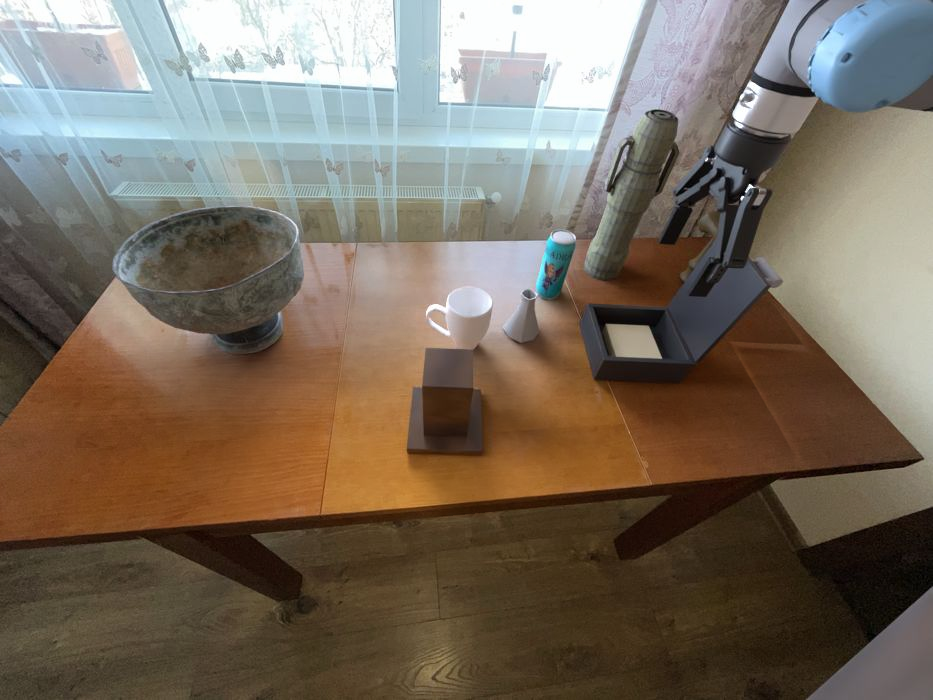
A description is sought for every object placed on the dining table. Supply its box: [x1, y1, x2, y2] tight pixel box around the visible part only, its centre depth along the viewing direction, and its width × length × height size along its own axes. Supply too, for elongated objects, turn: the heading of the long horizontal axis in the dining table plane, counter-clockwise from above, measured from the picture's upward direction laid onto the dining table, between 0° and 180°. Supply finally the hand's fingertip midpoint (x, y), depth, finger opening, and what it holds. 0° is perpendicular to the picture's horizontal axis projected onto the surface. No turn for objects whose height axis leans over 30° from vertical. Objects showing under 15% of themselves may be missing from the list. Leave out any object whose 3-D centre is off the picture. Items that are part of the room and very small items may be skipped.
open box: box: [578, 302, 697, 384], centre depth 79 cm, size 17×15×6 cm
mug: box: [425, 286, 494, 351], centre depth 75 cm, size 12×8×11 cm
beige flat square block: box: [602, 324, 662, 359], centre depth 80 cm, size 9×9×2 cm
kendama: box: [679, 210, 720, 284], centre depth 91 cm, size 6×10×20 cm, turn 0°
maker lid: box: [667, 238, 784, 364], centre depth 70 cm, size 18×15×7 cm
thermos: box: [583, 108, 680, 281], centre depth 86 cm, size 9×12×35 cm
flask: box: [502, 287, 540, 344], centre depth 80 cm, size 7×7×10 cm
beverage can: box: [535, 229, 577, 301], centre depth 86 cm, size 6×6×15 cm
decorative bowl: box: [111, 205, 305, 355], centre depth 72 cm, size 26×26×20 cm
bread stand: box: [406, 347, 484, 456], centre depth 62 cm, size 12×12×15 cm
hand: (680, 267), depth 65 cm, fingers open, 13 cm apart
